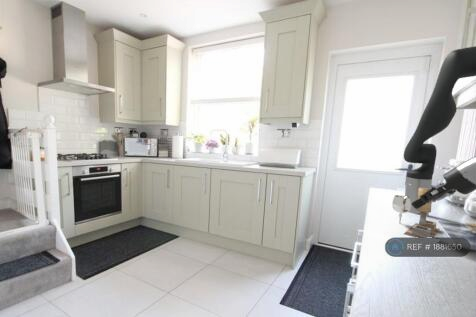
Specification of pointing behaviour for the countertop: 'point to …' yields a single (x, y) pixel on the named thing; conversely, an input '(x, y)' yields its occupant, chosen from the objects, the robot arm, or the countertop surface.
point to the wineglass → (401, 205)
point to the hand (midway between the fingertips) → (416, 205)
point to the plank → (423, 230)
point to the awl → (424, 206)
